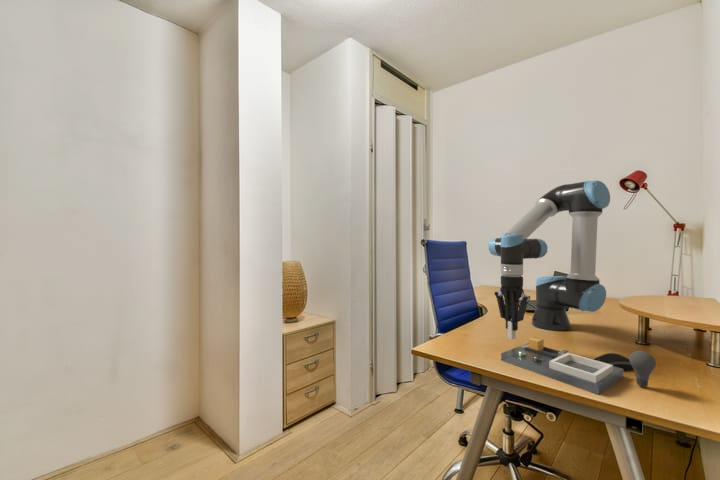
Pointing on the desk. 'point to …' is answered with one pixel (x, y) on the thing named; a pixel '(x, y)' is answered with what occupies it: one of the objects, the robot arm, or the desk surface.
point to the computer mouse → (616, 361)
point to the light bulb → (642, 366)
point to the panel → (540, 365)
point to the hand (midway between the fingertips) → (511, 338)
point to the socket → (593, 377)
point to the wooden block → (536, 343)
